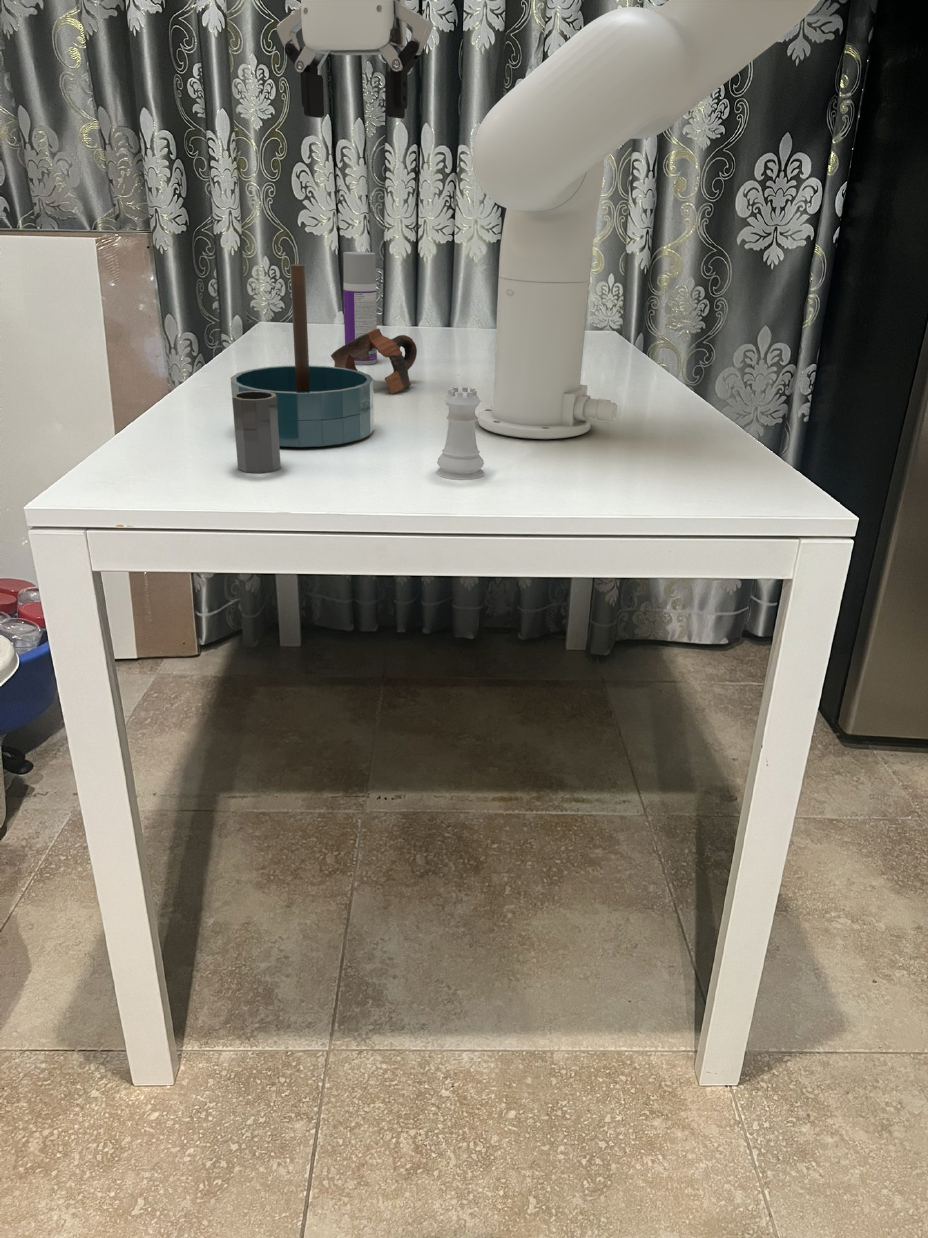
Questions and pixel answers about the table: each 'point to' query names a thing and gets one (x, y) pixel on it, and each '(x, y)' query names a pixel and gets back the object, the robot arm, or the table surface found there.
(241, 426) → the utensil cup
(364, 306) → the container
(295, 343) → the stick
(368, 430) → the bowl
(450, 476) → the rook chess piece
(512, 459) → the table surface
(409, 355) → the brown twisted loop sculpture
